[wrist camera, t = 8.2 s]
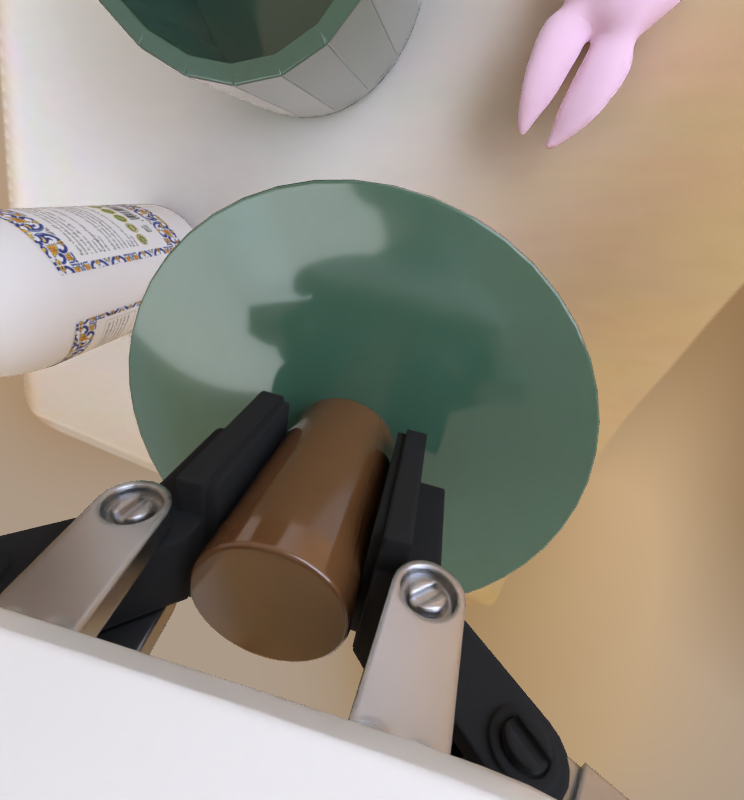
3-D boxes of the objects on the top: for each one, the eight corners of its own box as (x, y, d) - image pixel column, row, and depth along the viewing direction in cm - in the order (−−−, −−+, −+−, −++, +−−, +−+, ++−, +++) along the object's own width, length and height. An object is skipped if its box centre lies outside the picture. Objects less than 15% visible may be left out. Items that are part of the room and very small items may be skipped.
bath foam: (107, 201, 28) (-504, 219, 10) (203, 205, 27) (-294, 231, 9) (131, 305, 31) (-303, 456, 13) (218, 312, 30) (-129, 486, 12)
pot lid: (138, 128, 11) (-269, 47, 5) (689, 249, 10) (1066, 343, 4) (163, 521, 17) (4, 696, 11) (494, 619, 16) (515, 871, 10)
